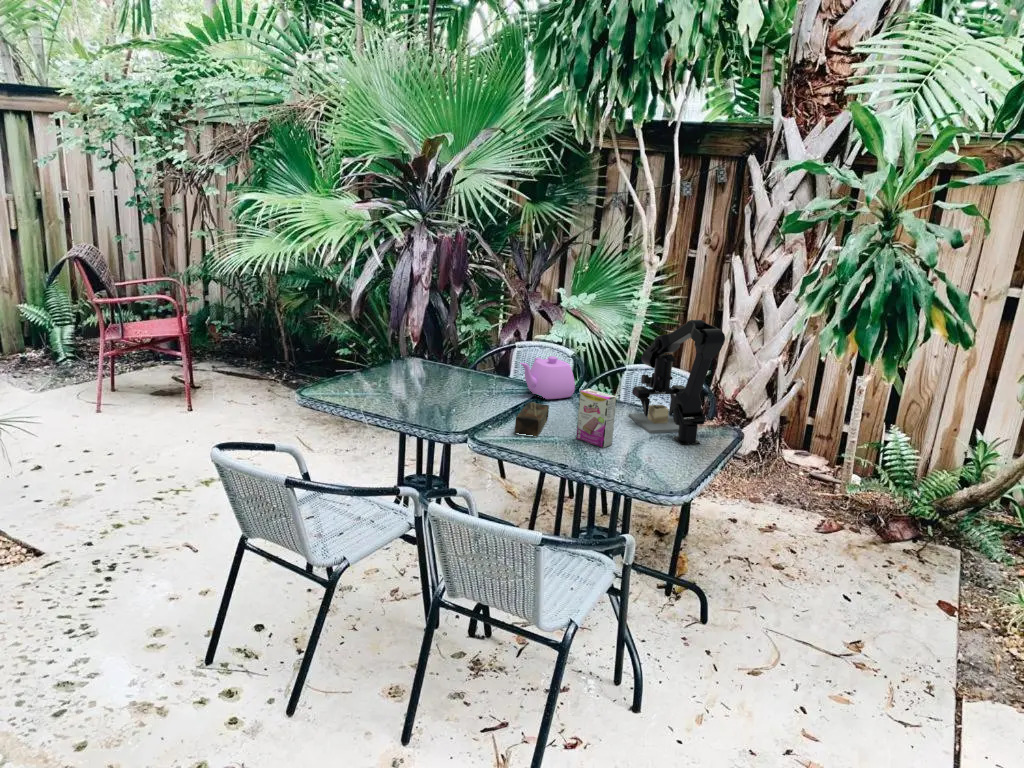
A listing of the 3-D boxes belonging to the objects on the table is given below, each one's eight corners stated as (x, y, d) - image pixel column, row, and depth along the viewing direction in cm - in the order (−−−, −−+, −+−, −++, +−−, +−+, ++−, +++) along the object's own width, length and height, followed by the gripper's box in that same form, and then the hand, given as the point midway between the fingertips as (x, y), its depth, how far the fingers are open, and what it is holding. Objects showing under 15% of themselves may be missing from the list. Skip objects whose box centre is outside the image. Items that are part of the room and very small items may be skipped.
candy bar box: (575, 439, 243) (578, 390, 239) (584, 436, 247) (588, 387, 242) (603, 449, 236) (607, 398, 232) (612, 445, 240) (617, 395, 235)
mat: (687, 431, 256) (687, 428, 256) (649, 433, 253) (649, 430, 252) (664, 414, 273) (664, 412, 273) (628, 416, 269) (628, 413, 269)
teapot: (552, 384, 305) (554, 348, 301) (580, 399, 287) (583, 360, 283) (501, 389, 294) (503, 352, 290) (528, 405, 276) (530, 365, 272)
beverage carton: (548, 420, 261) (550, 402, 259) (537, 439, 243) (538, 419, 241) (526, 418, 262) (527, 400, 261) (513, 436, 244) (514, 416, 243)
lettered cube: (667, 423, 261) (668, 408, 259) (654, 423, 259) (655, 409, 258) (660, 418, 265) (662, 404, 264) (647, 418, 264) (649, 405, 263)
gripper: (677, 365, 267) (672, 407, 272) (628, 366, 263) (624, 409, 267) (691, 373, 257) (686, 417, 261) (641, 374, 252) (636, 419, 257)
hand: (658, 415), depth 262 cm, fingers open, 9 cm apart
